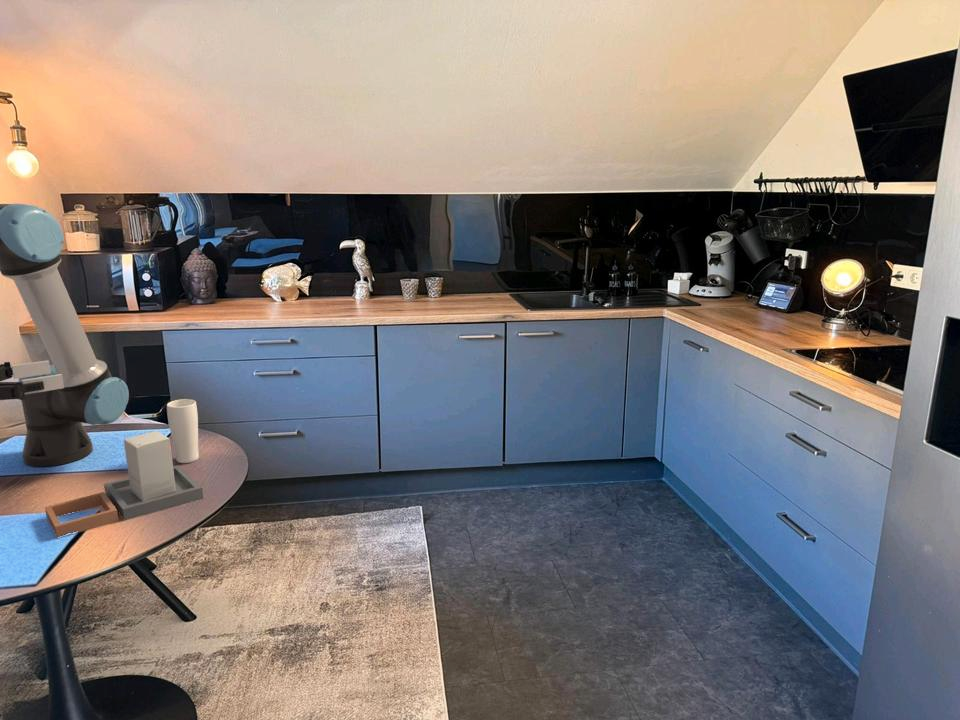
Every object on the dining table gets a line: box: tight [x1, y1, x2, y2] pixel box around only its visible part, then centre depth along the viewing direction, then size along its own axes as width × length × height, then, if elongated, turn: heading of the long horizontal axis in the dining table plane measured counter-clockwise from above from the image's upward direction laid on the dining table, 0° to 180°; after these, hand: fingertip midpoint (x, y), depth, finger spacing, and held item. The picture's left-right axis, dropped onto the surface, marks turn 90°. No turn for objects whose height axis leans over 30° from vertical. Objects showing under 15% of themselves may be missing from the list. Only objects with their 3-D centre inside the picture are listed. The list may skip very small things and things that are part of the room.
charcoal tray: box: [103, 464, 204, 521], centre depth 151 cm, size 16×16×2 cm
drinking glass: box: [166, 398, 200, 464], centre depth 169 cm, size 7×7×15 cm
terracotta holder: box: [44, 491, 119, 539], centre depth 141 cm, size 11×11×2 cm
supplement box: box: [123, 430, 176, 501], centre depth 150 cm, size 7×7×13 cm
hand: (56, 373), depth 138 cm, fingers open, 13 cm apart
